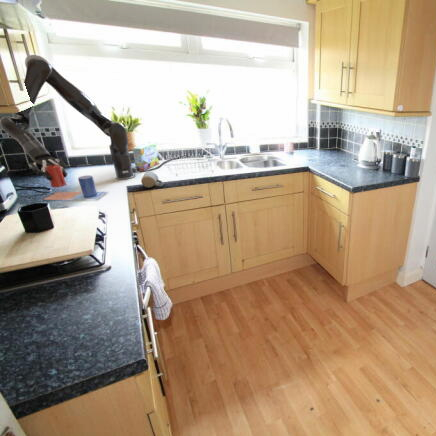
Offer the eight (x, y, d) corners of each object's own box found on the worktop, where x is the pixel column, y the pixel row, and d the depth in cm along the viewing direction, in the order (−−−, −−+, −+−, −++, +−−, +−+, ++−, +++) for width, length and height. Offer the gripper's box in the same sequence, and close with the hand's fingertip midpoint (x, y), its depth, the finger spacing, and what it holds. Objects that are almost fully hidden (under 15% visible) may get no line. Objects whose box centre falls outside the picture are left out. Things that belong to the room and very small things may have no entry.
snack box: (144, 171, 211) (140, 148, 205) (136, 170, 211) (131, 148, 205) (159, 163, 231) (155, 142, 224) (151, 163, 230) (147, 142, 224)
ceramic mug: (141, 188, 179) (139, 175, 176) (144, 184, 187) (142, 171, 183) (162, 188, 182) (160, 175, 179) (164, 183, 190) (162, 171, 186)
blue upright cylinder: (87, 193, 168) (82, 175, 163) (99, 193, 168) (94, 175, 164) (81, 197, 162) (75, 178, 158) (93, 197, 163) (88, 178, 159)
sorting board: (57, 193, 168) (56, 192, 168) (106, 192, 172) (106, 191, 171) (43, 200, 158) (43, 199, 158) (96, 199, 162) (96, 198, 162)
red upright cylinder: (56, 183, 163) (50, 164, 159) (69, 183, 164) (63, 164, 160) (48, 187, 158) (42, 167, 154) (62, 187, 159) (56, 167, 155)
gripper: (20, 149, 150) (43, 177, 150) (54, 144, 162) (76, 170, 163) (17, 158, 154) (40, 186, 154) (51, 153, 166) (72, 178, 167)
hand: (58, 177), depth 159 cm, fingers closed on red upright cylinder, 6 cm apart
